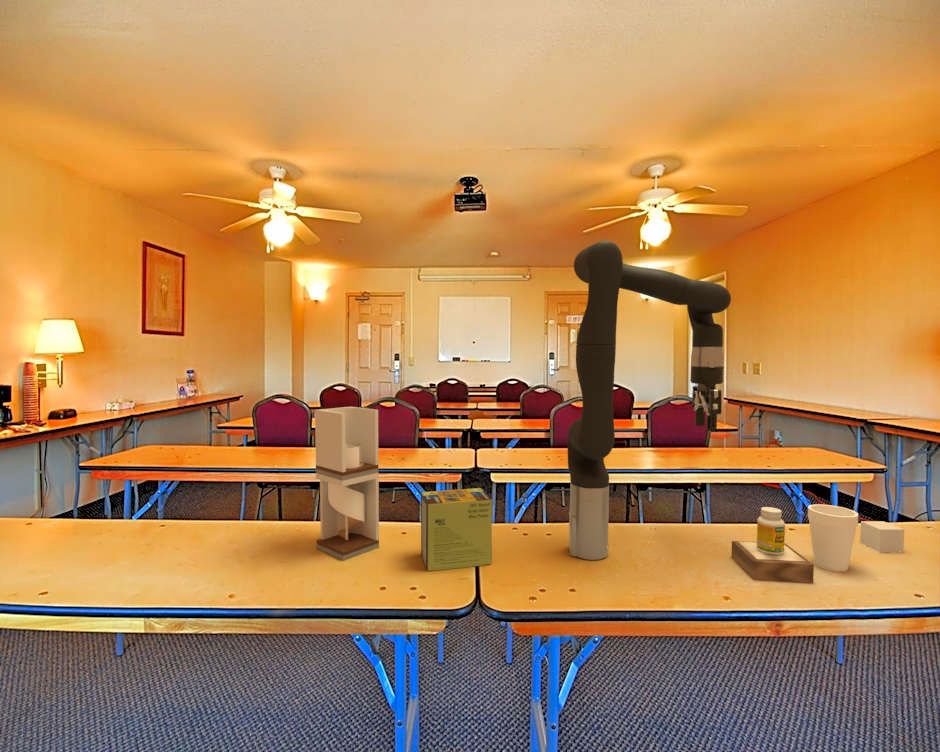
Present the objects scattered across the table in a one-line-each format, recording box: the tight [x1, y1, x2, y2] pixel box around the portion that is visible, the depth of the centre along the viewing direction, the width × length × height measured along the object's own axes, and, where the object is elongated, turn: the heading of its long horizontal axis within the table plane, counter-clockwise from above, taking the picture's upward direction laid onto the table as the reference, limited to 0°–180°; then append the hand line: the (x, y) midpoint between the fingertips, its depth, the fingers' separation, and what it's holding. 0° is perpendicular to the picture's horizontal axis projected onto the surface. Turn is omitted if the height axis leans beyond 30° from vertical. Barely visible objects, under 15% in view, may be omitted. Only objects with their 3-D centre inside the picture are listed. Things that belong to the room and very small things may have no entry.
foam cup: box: [807, 503, 859, 573], centre depth 113 cm, size 10×9×13 cm
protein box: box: [420, 487, 493, 572], centre depth 117 cm, size 10×15×16 cm
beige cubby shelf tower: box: [314, 406, 380, 562], centre depth 123 cm, size 11×11×35 cm
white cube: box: [859, 520, 905, 553], centre depth 124 cm, size 6×6×6 cm
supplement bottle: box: [756, 506, 786, 555], centre depth 111 cm, size 5×5×10 cm
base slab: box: [730, 540, 815, 584], centre depth 111 cm, size 12×12×4 cm
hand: (705, 428), depth 125 cm, fingers open, 8 cm apart
